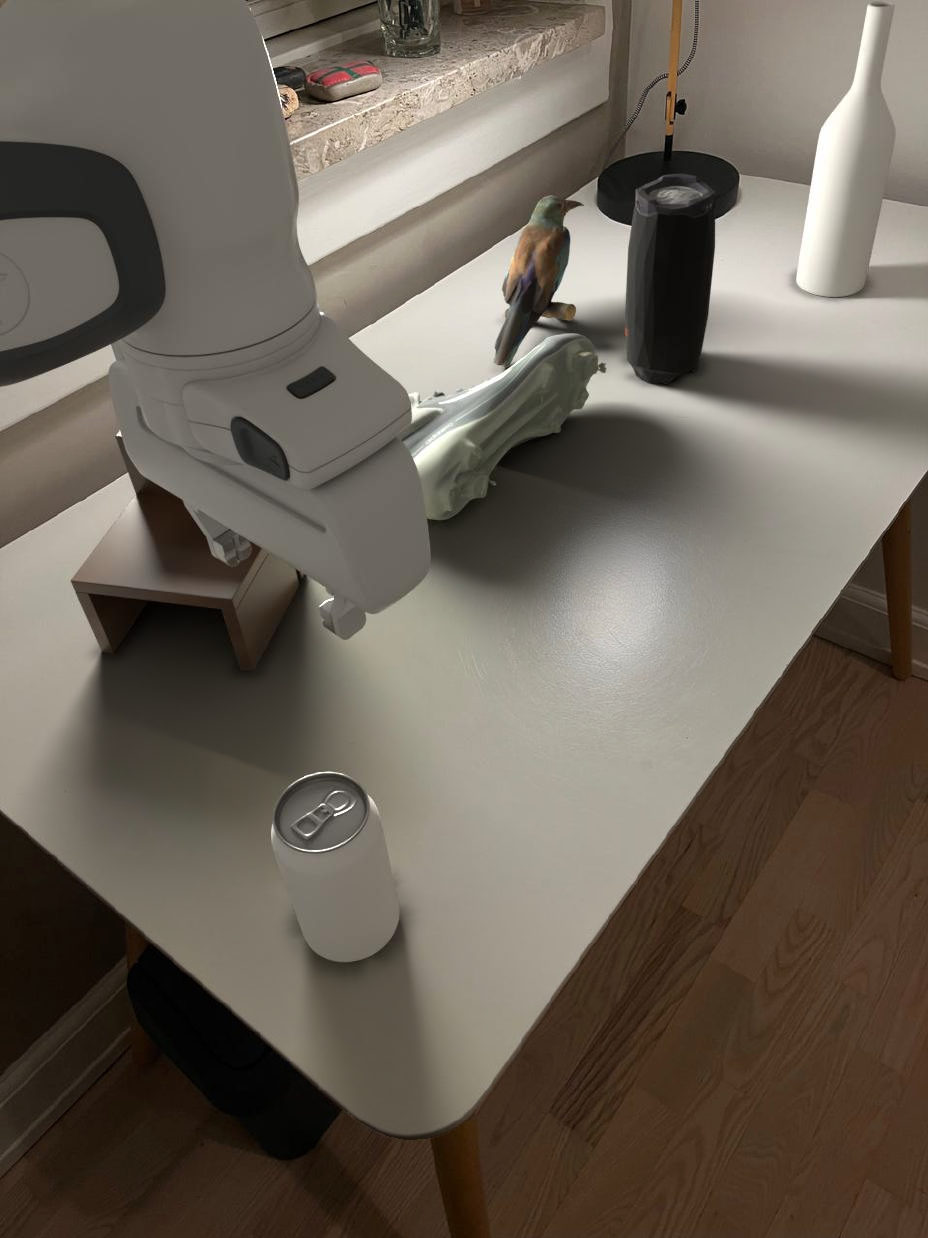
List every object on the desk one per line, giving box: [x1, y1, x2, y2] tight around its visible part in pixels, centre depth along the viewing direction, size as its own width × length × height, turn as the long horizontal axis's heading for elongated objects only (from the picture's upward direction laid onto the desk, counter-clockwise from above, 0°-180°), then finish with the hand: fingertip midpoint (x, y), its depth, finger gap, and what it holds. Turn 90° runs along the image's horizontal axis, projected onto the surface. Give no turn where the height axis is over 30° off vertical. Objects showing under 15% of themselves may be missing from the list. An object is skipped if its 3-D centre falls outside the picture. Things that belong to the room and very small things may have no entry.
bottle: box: [795, 0, 897, 298], centre depth 115 cm, size 8×8×30 cm
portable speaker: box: [624, 173, 717, 385], centre depth 107 cm, size 9×9×20 cm
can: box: [270, 771, 400, 963], centre depth 63 cm, size 6×6×12 cm
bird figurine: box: [493, 194, 585, 369], centre depth 118 cm, size 13×10×20 cm
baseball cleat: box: [397, 333, 607, 521], centre depth 102 cm, size 10×29×15 cm
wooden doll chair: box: [70, 430, 305, 672], centre depth 85 cm, size 14×12×14 cm
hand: (287, 591), depth 56 cm, fingers open, 8 cm apart
